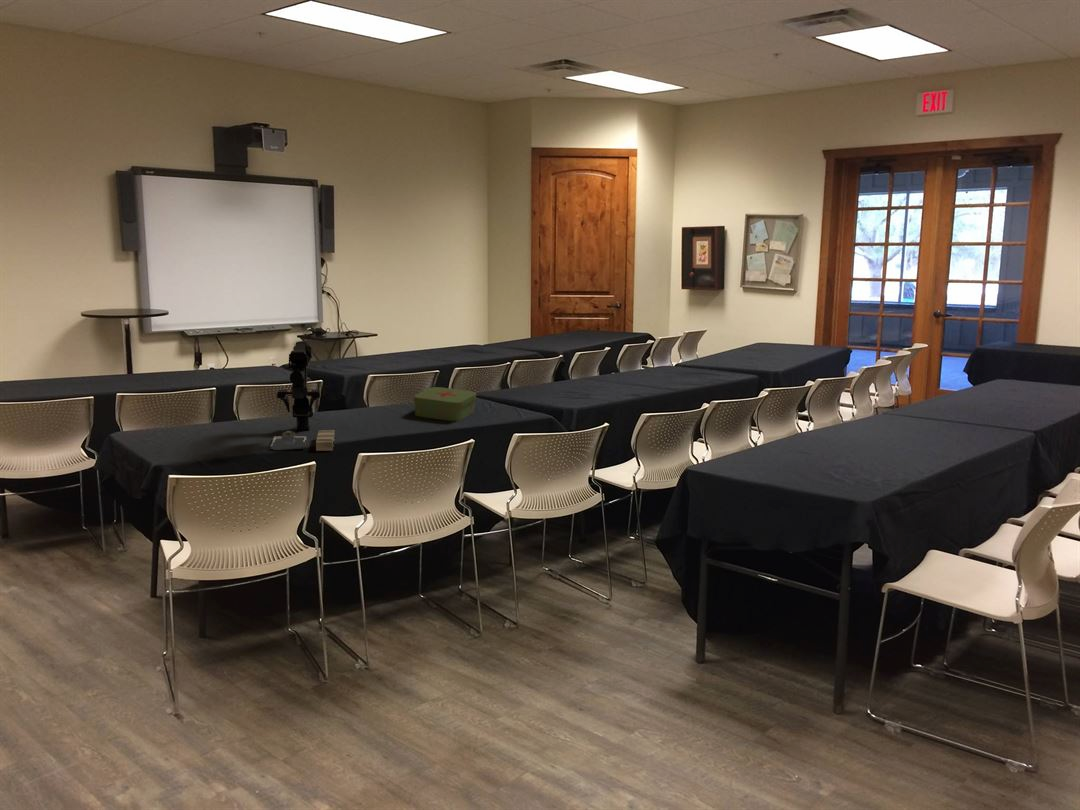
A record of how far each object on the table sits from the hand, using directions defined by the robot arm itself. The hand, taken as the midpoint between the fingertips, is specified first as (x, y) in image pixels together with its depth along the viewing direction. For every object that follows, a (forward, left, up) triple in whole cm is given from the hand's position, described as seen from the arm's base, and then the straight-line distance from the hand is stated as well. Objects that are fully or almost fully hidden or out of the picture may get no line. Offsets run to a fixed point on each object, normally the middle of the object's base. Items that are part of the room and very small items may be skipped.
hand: (299, 412), depth 400 cm
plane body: (+11, +12, -12) cm, 20 cm away
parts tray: (+11, -4, -12) cm, 17 cm away
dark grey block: (+11, -4, -12) cm, 16 cm away
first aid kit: (-42, +69, -12) cm, 82 cm away
